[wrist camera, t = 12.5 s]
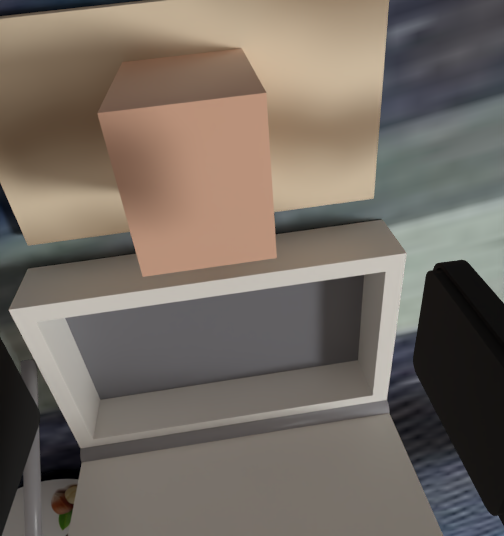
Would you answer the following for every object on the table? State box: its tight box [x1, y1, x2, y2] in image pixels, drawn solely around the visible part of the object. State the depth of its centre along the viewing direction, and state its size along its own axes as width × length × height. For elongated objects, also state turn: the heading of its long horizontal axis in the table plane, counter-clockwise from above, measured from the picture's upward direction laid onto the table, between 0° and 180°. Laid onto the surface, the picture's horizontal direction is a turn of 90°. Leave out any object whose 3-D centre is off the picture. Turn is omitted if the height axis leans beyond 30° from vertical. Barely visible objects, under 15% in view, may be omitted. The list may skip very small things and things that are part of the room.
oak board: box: [0, 0, 389, 245], centre depth 21 cm, size 10×18×1 cm, turn 95°
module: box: [97, 48, 277, 277], centre depth 18 cm, size 6×5×7 cm
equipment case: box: [9, 220, 443, 536], centre depth 22 cm, size 14×21×20 cm, turn 95°
